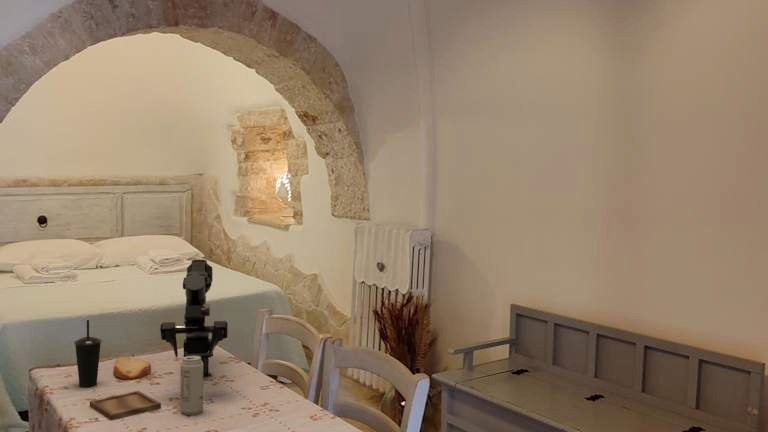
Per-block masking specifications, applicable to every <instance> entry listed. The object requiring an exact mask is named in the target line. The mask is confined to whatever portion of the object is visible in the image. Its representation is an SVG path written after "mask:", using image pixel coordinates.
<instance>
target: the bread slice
mask: <svg viewBox="0 0 768 432" xmlns="http://www.w3.org/2000/svg"><path fill="white" fill-rule="evenodd" d="M151 372H152V365H151V363H150V362H149V361H146V360H145V359H142V358H136V357H126V356H123V357H121V356H120V357H118V358H117V359H116V361H115V363H114V367H113V371H112V373H113V374H114V375H115V376H116V377H117V378H119V379H120V380H124V381H134V380H135V381H136V380H140V379H142V378H143V377H146V376H148V375H150V374H151Z"/></svg>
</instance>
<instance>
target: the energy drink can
mask: <svg viewBox="0 0 768 432" xmlns="http://www.w3.org/2000/svg"><path fill="white" fill-rule="evenodd" d="M179 371H180V372H179V373H180V379H179V381H180V383H179V385H180V387H179V389H180V391H179V392H180V393H179V395H180V397H179V398H180V400H179V401H180V402H179V403H180V404H179V406H180V408H179V409H180V411H182V412H181V413H182V414H183V415H185V416H194V415H198V414H201V413H202V411H203V409H204V377H203V362H202V360H201V357H200V356H186V357H184V356H183V357H182V361H181V363H180V369H179Z"/></svg>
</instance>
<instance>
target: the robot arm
mask: <svg viewBox="0 0 768 432" xmlns="http://www.w3.org/2000/svg"><path fill="white" fill-rule="evenodd" d="M186 270H187V271H186V275H185V277H183V279H182V280H183V281H182V289H183V290H185V297H186V299H185V300H186V301H185V306H184V307H185V312H184V314H183V316H184V318H183V324H184V325H183V326H176V322H175V321H168V322H167V321H166V322H164V321H163V322H162V323H161V324H160V329H159V330H160V331H159V332H160V337H161V340H162V341H165V342H166V343H169V344H170V346H171V348H172V350H173V353H174V356H175V358H178V354H179V352H178V343H177V334H185V335H186V336H185V339H183V358H184V357H186V356H200V357H201V360H202V362H203V378H206V377H210V376H212V373H210V372H209V369H210V368H209V367H210V366H209V362H210V361H209V359H211V358H212V357H214V350H215V349H216V347H217V345H218V344H219V342H222V341H223V340H224V339H227V338H228V335H229V334H228V332H229V331H228V321H226V320H214V321H213V325H206V317H210V314H211V313H210V312H211V311H210V310H211V305H210V303H207V296H206V295H207V293H208V292H209V291H210V290H211V287H212V284H213V275H214V273H213V267H212V266H211V265H210V264H209V263H208V261H207V259H192V260H191V264H189V265H188V266H187V268H186ZM209 334H211V338H210V337H209Z"/></svg>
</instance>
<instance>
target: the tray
mask: <svg viewBox="0 0 768 432" xmlns="http://www.w3.org/2000/svg"><path fill="white" fill-rule="evenodd" d="M89 407H90V408H91V409H93V410H95V411H96V412H97V413H99V414H101V415H103V416H104V417H106V418H107V419H109V420H110V421H113V420H117V419H121V418H125V417H129V416H134V415H139V414H143V413H147V412H150V411H155V410H159V409H162V402H160V401H158V400H156V399H154V398H153V397H151V396H149V395H147V394H145V393H143V392H142V391H140V390H136V391H132V392H126V393H120V394H116V395H113V396H108V397H102V398H98V399H93V400H90V401H89Z"/></svg>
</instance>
